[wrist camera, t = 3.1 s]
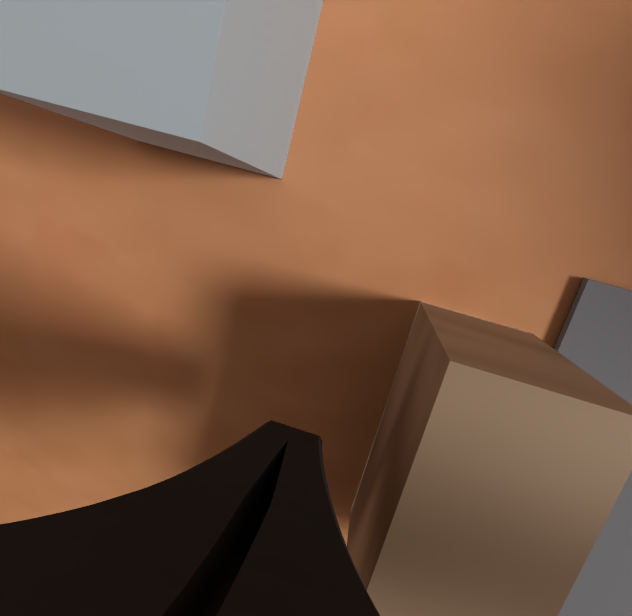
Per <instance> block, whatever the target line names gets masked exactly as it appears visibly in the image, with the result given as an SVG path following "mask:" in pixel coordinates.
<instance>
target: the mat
mask: <svg viewBox="0 0 632 616" xmlns="http://www.w3.org/2000/svg"><path fill="white" fill-rule="evenodd" d="M554 349H555V350H556V351H557V352H559V353H560V354H562V355H563V356H564V357H566V358H567V359H568V360H570V361H571V362H573V363H574V364H575V365H577V366H578V367H580V368H581V369H582V370H584V371H585V372H587V373H588V374H589V375H591V376H592V377H593V378H595V379H596V380H598V381H599V382H600V383H602V384H603V385H605V386H606V387H607V388H609V389H610V390H612V391H613V392H614V393H616V394H617V395H618V396H620V397H621V398H623V399H624V400H625V401H627V402H628V403H630V404H631V405H632V291H631V290H627V289H623V288H619V287H616V286H612V285H608V284H605V283H601V282H597V281H594V280H590V279H586V278H583V281H582V283H581V285H580V288H579V290H578V292H577V295H576V297H575V299H574V302H573V304H572V307H571V309H570V311H569V314H568V316H567V318H566V321H565V323H564V325H563V328H562V330H561V332H560V335H559V337H558V340H557V342H556V344H555V347H554ZM558 616H632V471H631V473H630V475H629V477H628V479H627V481H626V482H625V484H624V486H623V488H622V490H621V492H620V494H619V496H618V498H617V500H616V502H615V504H614V506H613V508H612V510H611V512H610V514H609V516H608V518H607V520H606V522H605V524H604V526H603V528H602V530H601V532H600V534H599V535H598V537H597V539H596V541H595V543H594V545H593V547H592V549H591V551H590V553H589V555H588V557H587V559H586V561H585V563H584V565H583V567H582V569H581V571H580V573H579V575H578V577H577V579H576V581H575V583H574V585H573V587H572V588H571V590H570V592H569V594H568V596H567V598H566V600H565V602H564V604H563V606H562V608H561V610H560V612H559V614H558Z"/></svg>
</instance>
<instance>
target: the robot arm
mask: <svg viewBox="0 0 632 616" xmlns="http://www.w3.org/2000/svg"><path fill="white" fill-rule="evenodd" d="M0 616H380V614H379V612H378V611H377V609H376V607H375V605H374V604H373V602H372V600H371V598H370V596H369V595H368V593H367V591H366V589H365V587H364V584H363V582H362V580H361V578H360V576H359V574H358V572H357V570H356V568H355V565H354V563H353V561H352V558H351V556H350V554H349V551H348V549H347V546H346V544H345V541H344V539H343V536H342V533H341V530H340V528H339V525H338V521H337V518H336V515H335V512H334V509H333V505H332V502H331V498H330V494H329V490H328V486H327V481H326V477H325V471H324V465H323V458H322V440H321V438H320V436H318V435H315V434H311V433H308V432H305V431H302V430H299V429H296V428H293V427H290V426H287V425H284V424H281V423H278V422H275V421H272V420H271V421H269V422H267V423H265V424H264V425H263V426H261V427H260V428H258V429H257V430H255V431H254V432H252V433H251V434H250V435H248V436H246V437H245V438H243V439H242V440H240V441H239V442H237V443H236V444H234V445H232V446H231V447H229V448H227V449H226V450H224V451H222V452H221V453H219V454H217V455H216V456H214V457H212V458H210V459H208V460H206V461H204V462H202V463H200V464H198V465H197V466H195V467H193V468H191V469H189V470H187V471H185V472H183V473H181V474H178V475H176V476H174V477H172V478H170V479H167V480H165V481H162V482H160V483H157V484H154V485H152V486H149V487H147V488H144V489H141V490H138V491H135V492H132V493H128V494H125V495H122V496H119V497H116V498H112V499H109V500H106V501H103V502H100V503H96V504H93V505H89V506H85V507H81V508H77V509H73V510H69V511H65V512H61V513H56V514H52V515H47V516H42V517H38V518H33V519H28V520H23V521H18V522H12V523H6V524H0Z"/></svg>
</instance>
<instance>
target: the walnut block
mask: <svg viewBox="0 0 632 616" xmlns="http://www.w3.org/2000/svg"><path fill="white" fill-rule="evenodd" d="M631 471H632V405H631V404H630V403H628V402H627V401H625V400H624V399H623V398H621V397H620V396H618V395H617V394H616V393H614V392H613V391H612V390H610V389H609V388H607V387H606V386H605V385H603V384H602V383H600V382H599V381H598V380H596V379H595V378H593V377H592V376H591V375H589V374H588V373H587V372H585V371H584V370H582V369H581V368H580V367H578V366H577V365H575V364H574V363H573V362H571V361H570V360H568V359H567V358H566V357H564V356H563V355H562V354H560V353H559V352H557V351H556V350H555V349H553V348H552V347H550V346H549V345H548V344H546V343H545V342H543V341H542V340H541V339H539V338H538V337H537V336H535V335H534V334H532V333H530V332H526V331H523V330H519V329H516V328H512V327H509V326H506V325H502V324H499V323H495V322H492V321H488V320H485V319H481V318H478V317H474V316H471V315H467V314H464V313H460V312H457V311H453V310H450V309H446V308H443V307H439V306H436V305H432V304H429V303H425V302H422V301H420V304H419V307H418V310H417V313H416V316H415V319H414V322H413V325H412V328H411V331H410V334H409V337H408V340H407V343H406V346H405V349H404V352H403V355H402V358H401V361H400V364H399V367H398V370H397V373H396V376H395V379H394V382H393V385H392V388H391V391H390V394H389V397H388V400H387V403H386V406H385V409H384V412H383V415H382V418H381V421H380V424H379V427H378V430H377V433H376V436H375V439H374V442H373V445H372V448H371V451H370V454H369V457H368V460H367V463H366V466H365V469H364V472H363V475H362V478H361V481H360V484H359V487H358V490H357V493H356V496H355V499H354V502H353V505H352V508H351V514H350V522H349V531H348V540H347V549H348V551H349V554H350V556H351V558H352V561H353V563H354V565H355V568H356V570H357V572H358V574H359V576H360V578H361V580H362V582H363V584H364V587H365V589H366V591H367V593H368V595H369V596H370V598H371V600H372V602H373V604H374V605H375V607H376V609H377V611H378V612H379V614H380V616H558V614H559V612H560V610H561V608H562V606H563V604H564V602H565V600H566V598H567V596H568V594H569V592H570V590H571V588H572V587H573V585H574V583H575V581H576V579H577V577H578V575H579V573H580V571H581V569H582V567H583V565H584V563H585V561H586V559H587V557H588V555H589V553H590V551H591V549H592V547H593V545H594V543H595V541H596V539H597V537H598V535H599V534H600V532H601V530H602V528H603V526H604V524H605V522H606V520H607V518H608V516H609V514H610V512H611V510H612V508H613V506H614V504H615V502H616V500H617V498H618V496H619V494H620V492H621V490H622V488H623V486H624V484H625V482H626V481H627V479H628V477H629V475H630V473H631Z"/></svg>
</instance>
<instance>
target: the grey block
mask: <svg viewBox="0 0 632 616" xmlns="http://www.w3.org/2000/svg"><path fill="white" fill-rule="evenodd" d="M322 5H323V1H322V0H0V94H3V95H6V96H9V97H12V98H15V99H18V100H20V101H23V102H26V103H29V104H32V105H35V106H38V107H41V108H44V109H47V110H50V111H52V112H55V113H58V114H61V115H64V116H67V117H70V118H73V119H76V120H79V121H81V122H84V123H87V124H90V125H93V126H96V127H99V128H102V129H105V130H108V131H110V132H113V133H116V134H119V135H122V136H125V137H128V138H131V139H134V140H137V141H140V142H144V143H148V144H151V145H155V146H159V147H163V148H166V149H170V150H174V151H178V152H181V153H185V154H189V155H193V156H197V157H200V158H204V159H208V160H212V161H215V162H219V163H223V164H227V165H230V166H234V167H238V168H242V169H245V170H249V171H253V172H257V173H260V174H264V175H268V176H272V177H275V178H279V179H282V176H283V172H284V168H285V164H286V159H287V155H288V151H289V146H290V142H291V138H292V133H293V129H294V125H295V121H296V116H297V112H298V108H299V103H300V99H301V95H302V91H303V86H304V82H305V78H306V73H307V69H308V65H309V61H310V56H311V52H312V48H313V43H314V39H315V35H316V30H317V26H318V22H319V18H320V13H321V9H322Z"/></svg>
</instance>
